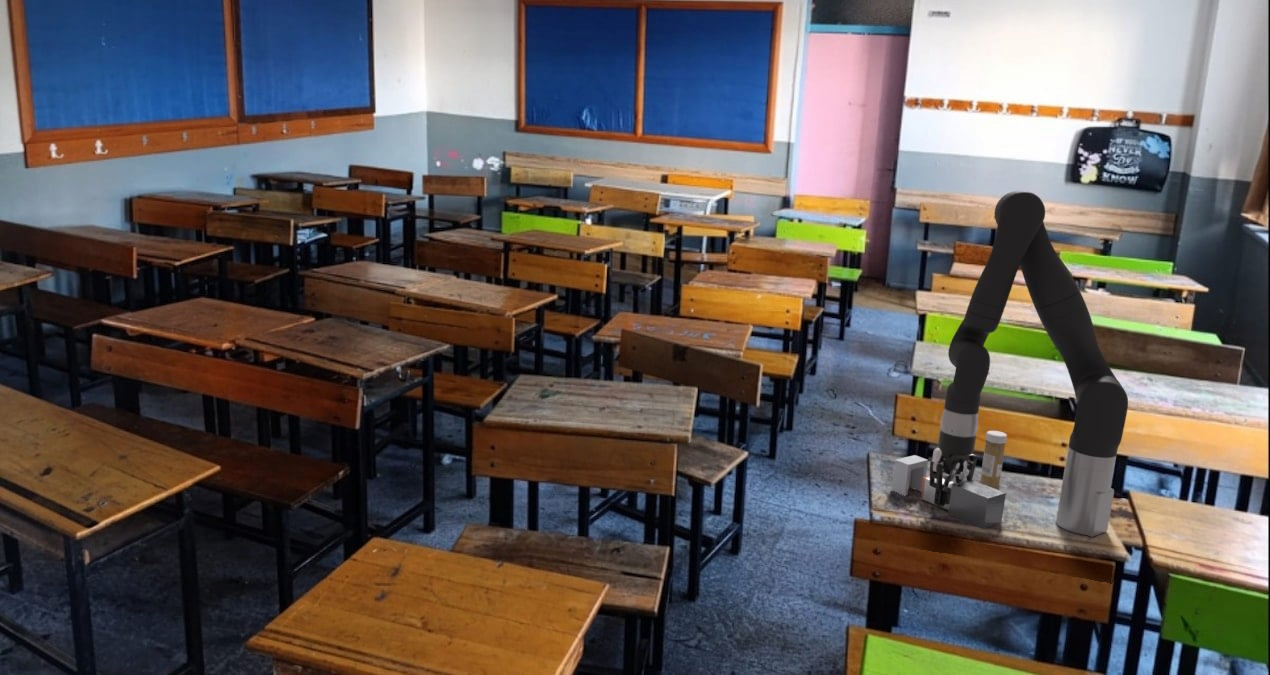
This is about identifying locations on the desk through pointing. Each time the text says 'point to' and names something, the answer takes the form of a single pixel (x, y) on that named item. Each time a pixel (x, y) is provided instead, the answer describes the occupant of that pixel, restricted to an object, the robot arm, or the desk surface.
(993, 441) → the sprinkles bottle
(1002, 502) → the sleeve
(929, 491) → the grey square post
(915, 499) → the desk surface
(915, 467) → the socket block
